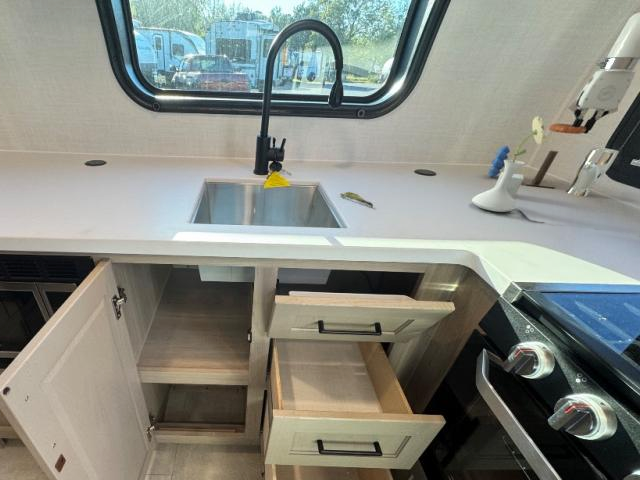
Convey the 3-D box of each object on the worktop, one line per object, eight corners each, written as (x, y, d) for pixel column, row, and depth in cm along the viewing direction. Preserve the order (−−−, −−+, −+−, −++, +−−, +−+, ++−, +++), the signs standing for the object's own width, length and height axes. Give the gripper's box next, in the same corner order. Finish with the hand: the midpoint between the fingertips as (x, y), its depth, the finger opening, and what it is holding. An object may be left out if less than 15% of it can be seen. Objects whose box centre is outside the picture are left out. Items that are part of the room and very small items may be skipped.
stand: (544, 184, 122) (564, 150, 115) (553, 190, 115) (575, 154, 108) (516, 181, 124) (534, 147, 117) (524, 187, 118) (543, 152, 110)
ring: (576, 131, 111) (580, 124, 110) (589, 135, 104) (593, 128, 103) (543, 128, 114) (547, 122, 112) (554, 132, 106) (557, 126, 105)
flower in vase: (508, 218, 92) (563, 120, 77) (465, 208, 98) (508, 115, 83) (516, 207, 99) (567, 116, 84) (475, 198, 106) (516, 112, 91)
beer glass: (593, 200, 107) (626, 152, 98) (570, 198, 108) (601, 151, 99) (578, 193, 113) (608, 148, 104) (557, 192, 114) (585, 147, 105)
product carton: (511, 196, 108) (523, 174, 104) (512, 201, 104) (524, 178, 100) (490, 193, 111) (501, 171, 106) (490, 197, 107) (501, 175, 102)
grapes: (500, 182, 122) (517, 148, 115) (480, 178, 126) (495, 146, 119) (507, 177, 129) (523, 145, 122) (488, 173, 133) (503, 142, 126)
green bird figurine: (369, 208, 96) (371, 201, 95) (337, 197, 105) (338, 191, 104) (378, 206, 97) (380, 199, 96) (346, 195, 107) (347, 189, 105)
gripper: (592, 64, 96) (554, 132, 107) (660, 66, 92) (613, 136, 103) (580, 65, 102) (546, 129, 113) (644, 66, 97) (601, 133, 108)
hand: (578, 132), depth 108 cm, fingers closed on ring, 2 cm apart
